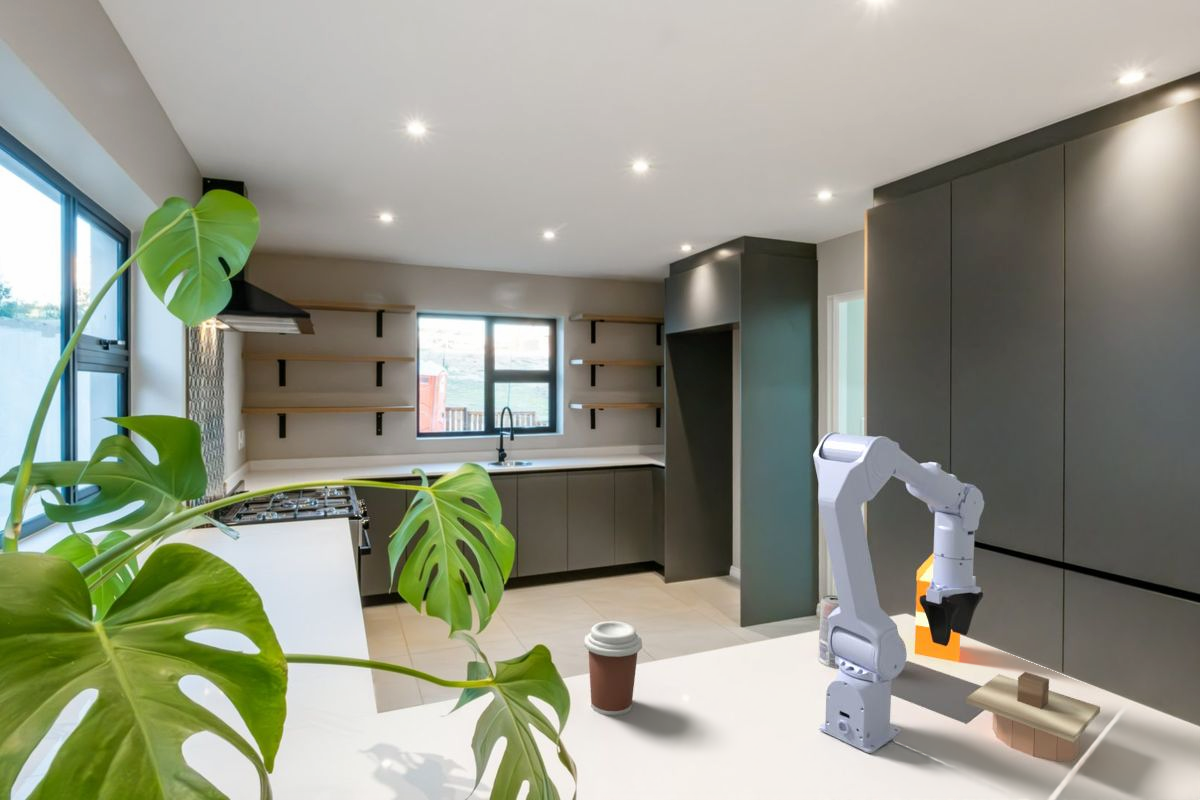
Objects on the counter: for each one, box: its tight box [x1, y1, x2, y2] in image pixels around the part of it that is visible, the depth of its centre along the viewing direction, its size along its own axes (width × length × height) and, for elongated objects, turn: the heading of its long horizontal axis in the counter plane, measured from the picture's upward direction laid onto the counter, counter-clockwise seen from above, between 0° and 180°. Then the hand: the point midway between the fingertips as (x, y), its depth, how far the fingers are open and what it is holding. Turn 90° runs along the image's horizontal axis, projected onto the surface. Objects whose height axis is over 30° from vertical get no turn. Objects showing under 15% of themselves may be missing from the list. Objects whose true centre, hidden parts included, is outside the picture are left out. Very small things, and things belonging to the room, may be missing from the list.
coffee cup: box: [584, 620, 643, 716], centre depth 100 cm, size 9×9×12 cm
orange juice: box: [914, 552, 961, 663], centre depth 125 cm, size 8×9×20 cm
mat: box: [891, 660, 985, 725], centre depth 108 cm, size 16×16×1 cm
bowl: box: [991, 713, 1081, 762], centre depth 92 cm, size 10×10×5 cm
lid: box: [966, 671, 1101, 742], centre depth 93 cm, size 13×13×4 cm
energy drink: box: [818, 594, 839, 670], centre depth 118 cm, size 5×5×12 cm
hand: (950, 638), depth 104 cm, fingers open, 7 cm apart
